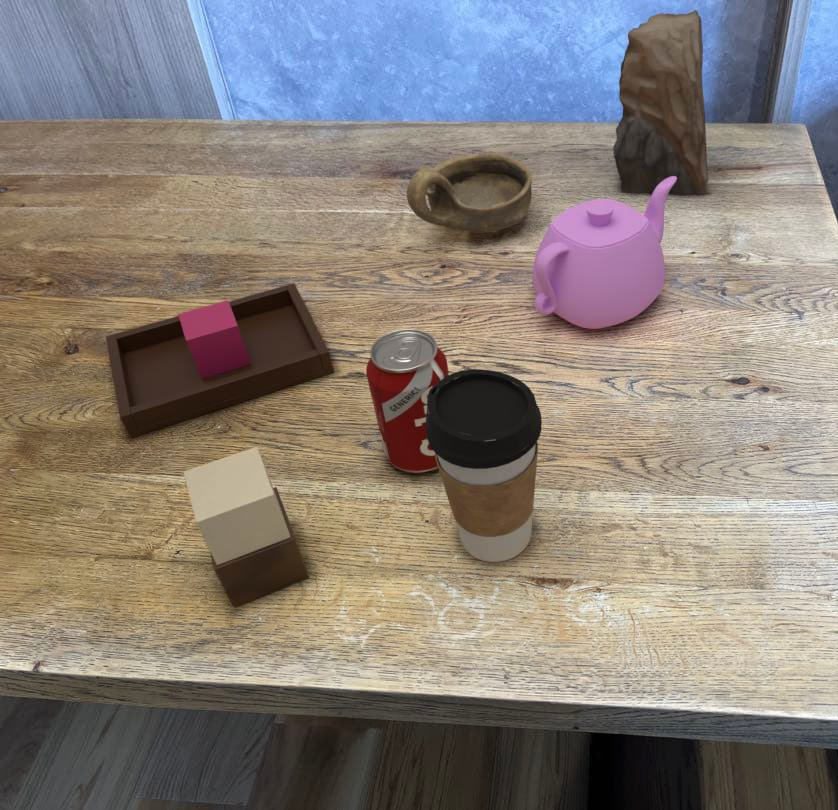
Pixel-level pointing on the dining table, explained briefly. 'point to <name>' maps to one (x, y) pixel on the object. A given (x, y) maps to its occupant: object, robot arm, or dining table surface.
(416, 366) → the soda can
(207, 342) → the pink block
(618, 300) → the teapot
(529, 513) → the coffee cup
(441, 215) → the bowl
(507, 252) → the dining table surface
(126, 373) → the tray
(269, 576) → the walnut block
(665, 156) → the brown rock
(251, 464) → the cream block
